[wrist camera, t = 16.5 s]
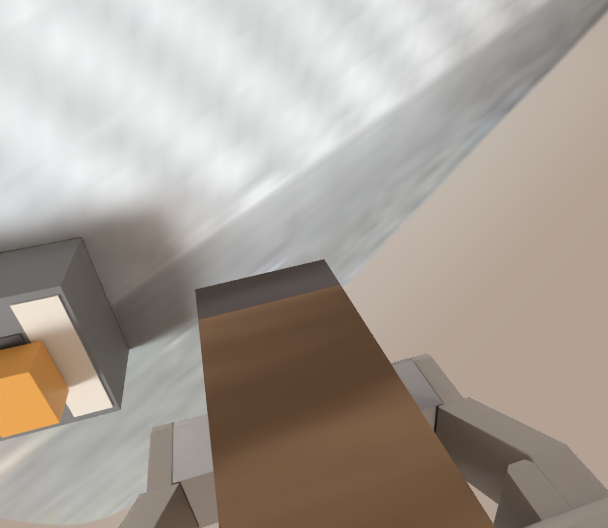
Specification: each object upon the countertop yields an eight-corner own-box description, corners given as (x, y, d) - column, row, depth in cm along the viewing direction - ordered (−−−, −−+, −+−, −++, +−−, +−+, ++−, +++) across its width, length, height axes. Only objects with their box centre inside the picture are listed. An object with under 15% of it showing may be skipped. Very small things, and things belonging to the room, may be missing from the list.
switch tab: (-17, 354, 23) (-36, 387, 21) (41, 340, 24) (28, 372, 22) (16, 403, 25) (2, 437, 23) (69, 390, 26) (59, 422, 24)
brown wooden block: (195, 289, 12) (249, 832, 4) (324, 259, 13) (589, 674, 5) (222, 383, 15) (295, 869, 6) (332, 353, 15) (527, 754, 7)
